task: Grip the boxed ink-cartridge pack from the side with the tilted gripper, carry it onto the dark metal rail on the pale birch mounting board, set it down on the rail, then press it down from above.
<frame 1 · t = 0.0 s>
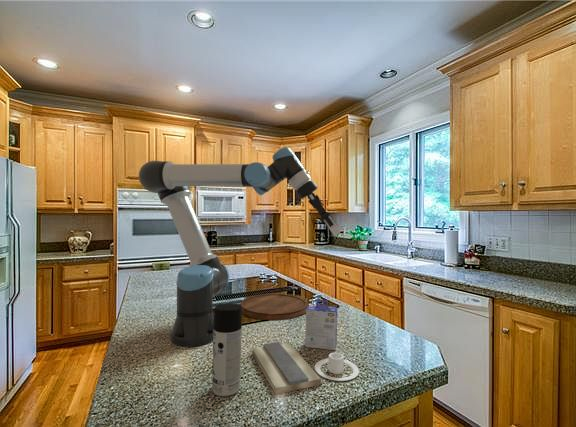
hand: (337, 232, 110), 36 cm above the counter, tool tilted 35°, fingers open, 13 cm apart
ink cartridge box: (321, 346, 98), on the counter
spray can: (226, 390, 73), on the counter
candle holder: (336, 371, 83), on the counter
cutting board: (274, 308, 137), on the counter
rail board: (283, 367, 84), on the counter
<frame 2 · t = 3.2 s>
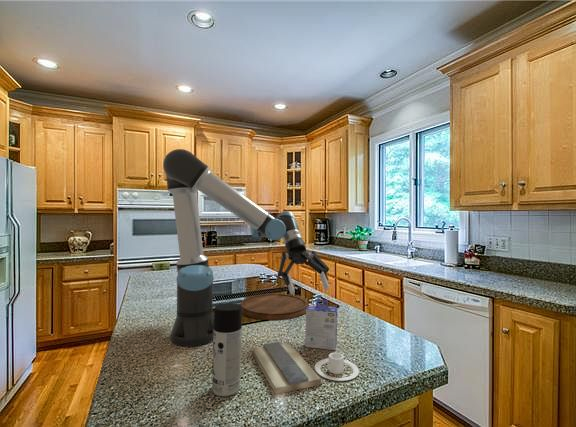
hand: (310, 290, 107), 16 cm above the counter, tool tilted 45°, fingers open, 13 cm apart
nothing on the counter moved.
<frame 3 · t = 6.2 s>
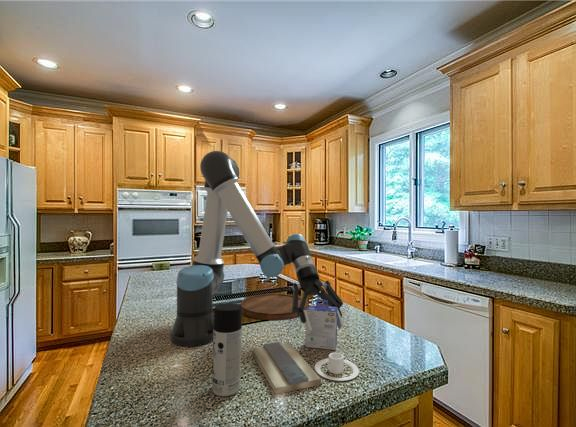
hand: (325, 329, 96), 6 cm above the counter, tool tilted 45°, fingers closed on ink cartridge box, 11 cm apart
ink cartridge box: (321, 346, 98), on the counter, touching gripper
everything else where it was.
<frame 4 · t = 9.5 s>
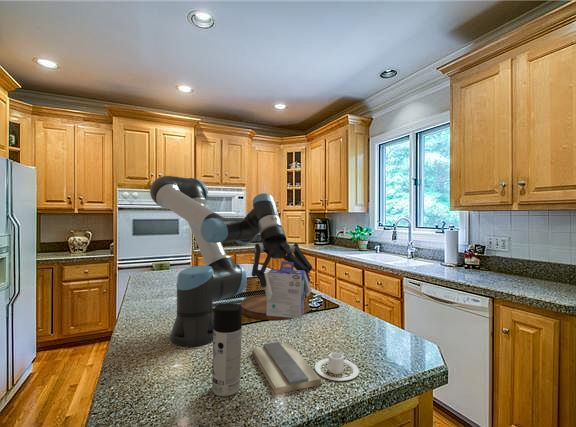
hand: (289, 295, 82), 21 cm above the counter, tool tilted 45°, fingers closed on ink cartridge box, 11 cm apart
ink cartridge box: (285, 315, 85), point 14 cm above the counter, touching gripper
everything else where it was.
when the fingers open (10 cm above the counter, at t = 12.8 s): ink cartridge box drops 1 cm, resting on rail board.
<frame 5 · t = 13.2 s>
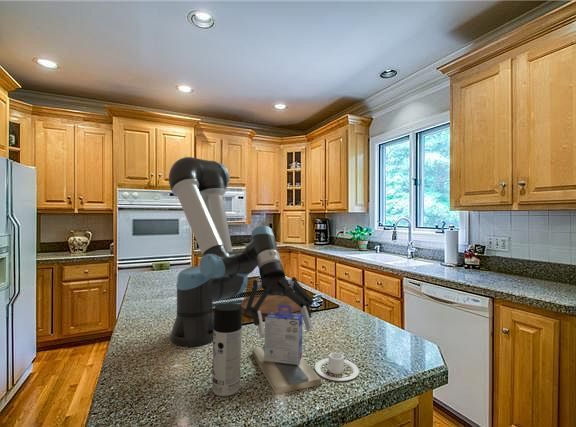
hand: (286, 333, 82), 10 cm above the counter, tool tilted 45°, fingers open, 13 cm apart
ink cartridge box: (283, 359, 84), point 2 cm above the counter, touching rail board
everything else where it was.
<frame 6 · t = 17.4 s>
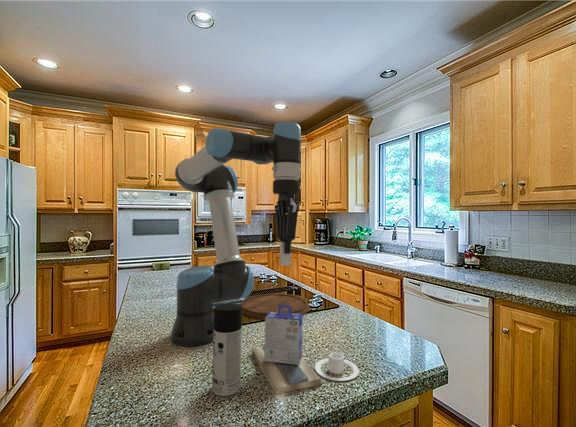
hand: (285, 264, 84), 28 cm above the counter, tool pointing down, fingers closed
nothing on the counter moved.
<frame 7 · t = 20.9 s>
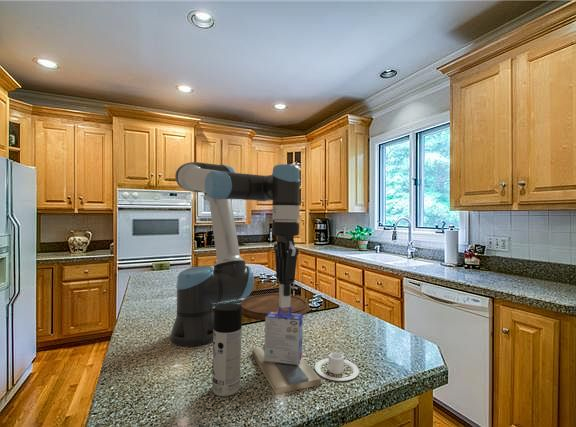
hand: (284, 306, 84), 17 cm above the counter, tool pointing down, fingers closed
ink cartridge box: (283, 359, 84), point 2 cm above the counter, touching gripper, rail board
everything else where it was.
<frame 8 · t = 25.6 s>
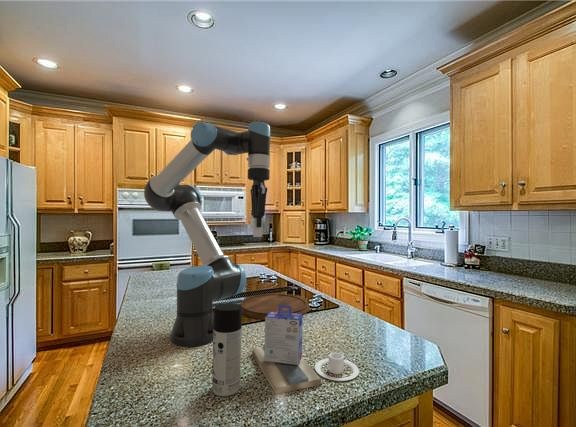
hand: (257, 236, 105), 34 cm above the counter, tool pointing down, fingers closed
ink cartridge box: (283, 359, 84), point 2 cm above the counter, touching rail board
everything else where it was.
at the end: ink cartridge box inside the target area on the rail board (0.1 cm from its centre), point 2.1 cm above the rail board's base; ink cartridge box tilted 0°; the gripper is holding nothing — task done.
